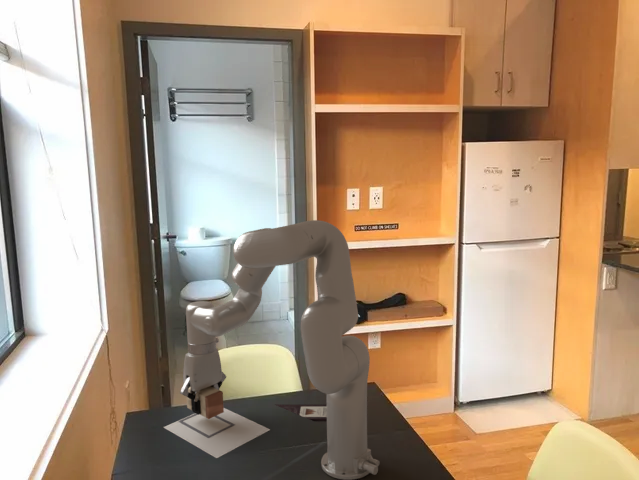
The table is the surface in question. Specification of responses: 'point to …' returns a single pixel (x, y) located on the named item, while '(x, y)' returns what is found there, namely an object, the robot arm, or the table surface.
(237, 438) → the mat
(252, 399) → the table surface
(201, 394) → the block
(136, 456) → the table surface
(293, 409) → the chocolate bar
